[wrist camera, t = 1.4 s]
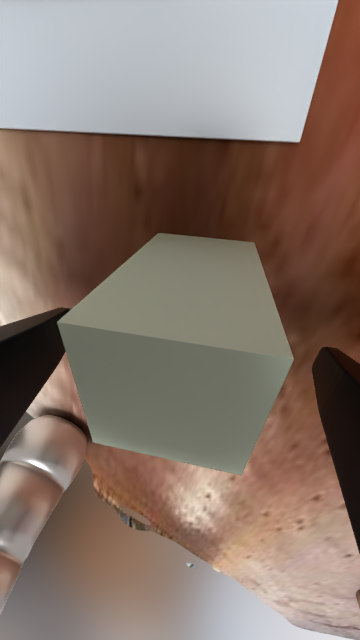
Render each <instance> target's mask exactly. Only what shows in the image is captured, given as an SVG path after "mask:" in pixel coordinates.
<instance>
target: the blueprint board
mask: <svg viewBox="0 0 360 640" xmlns="http://www.w3.org/2000/svg"><path fill="white" fill-rule="evenodd" d="M337 4H338V0H0V129H16V130H37V131H58V132H79V133H99V134H120V135H141V136H162V137H182V138H203V139H224V140H245V141H266V142H286V143H298V142H300V139H301V135H302V132H303V128H304V124H305V121H306V117H307V114H308V110H309V106H310V103H311V99H312V95H313V92H314V88H315V84H316V81H317V77H318V73H319V70H320V66H321V62H322V59H323V55H324V51H325V48H326V44H327V40H328V37H329V33H330V29H331V26H332V22H333V18H334V15H335V11H336V7H337Z"/></svg>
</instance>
